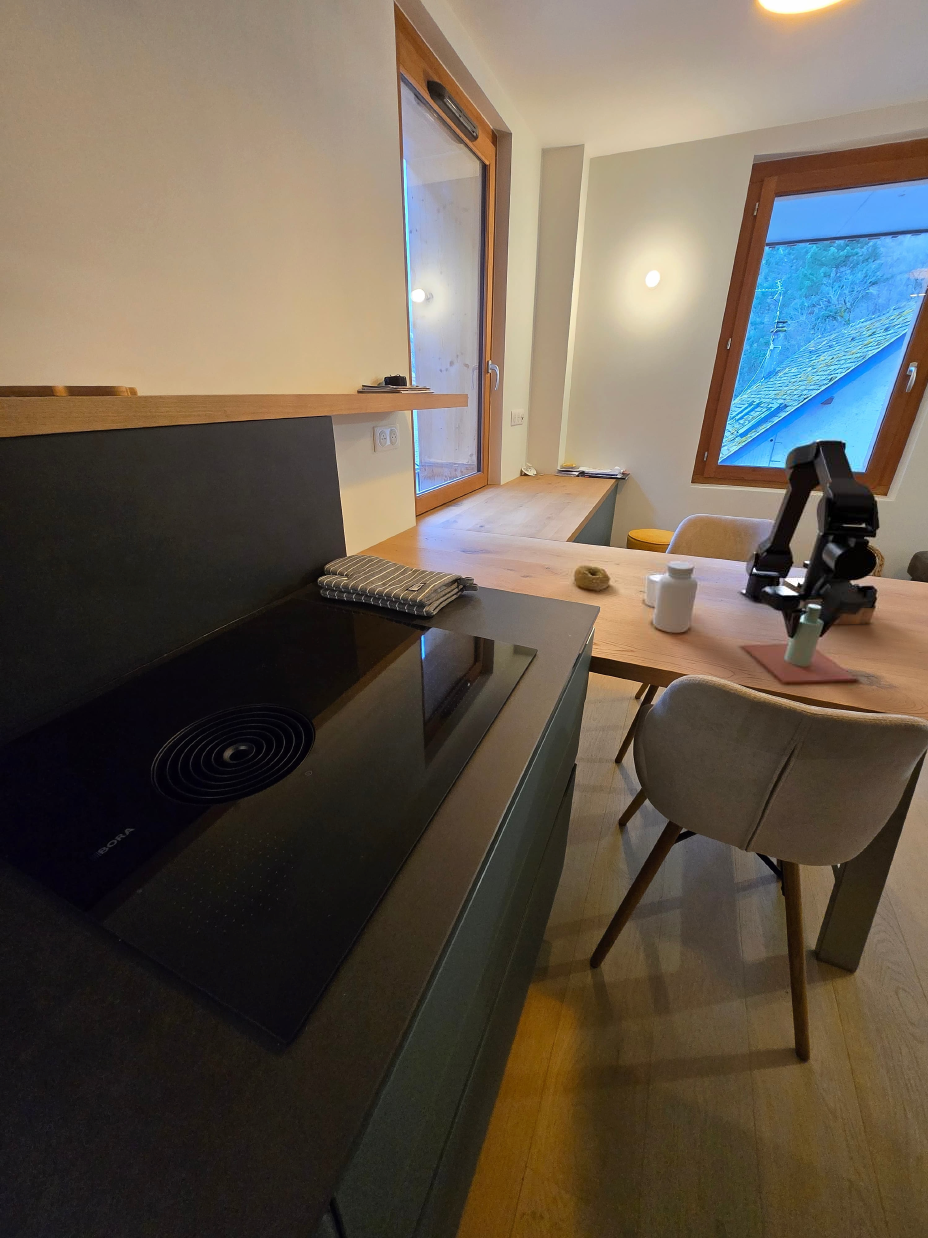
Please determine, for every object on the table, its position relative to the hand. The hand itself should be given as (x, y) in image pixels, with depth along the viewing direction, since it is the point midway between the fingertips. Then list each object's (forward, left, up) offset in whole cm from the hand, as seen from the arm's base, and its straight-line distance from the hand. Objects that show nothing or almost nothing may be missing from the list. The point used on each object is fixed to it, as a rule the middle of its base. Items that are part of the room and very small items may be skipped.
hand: (804, 637), depth 96 cm
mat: (0, 0, -6) cm, 6 cm away
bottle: (0, 0, -5) cm, 5 cm away
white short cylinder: (-16, +31, -6) cm, 35 cm away
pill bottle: (-18, +18, -6) cm, 26 cm away
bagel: (-29, +45, -6) cm, 54 cm away
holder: (+23, +25, -6) cm, 34 cm away
